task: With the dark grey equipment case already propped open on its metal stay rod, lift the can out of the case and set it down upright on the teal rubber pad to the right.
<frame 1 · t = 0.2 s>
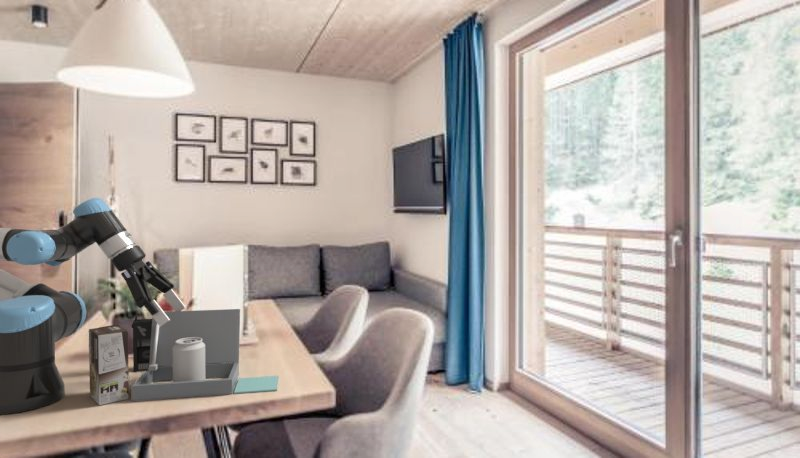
hand: (173, 316, 128), 16 cm above the table, tool tilted 35°, fingers open, 13 cm apart
can: (189, 387, 119), resting in case
geiger counter: (153, 368, 133), on the table
pad: (257, 385, 120), on the table
coffee box: (109, 397, 112), on the table
case: (189, 386, 119), on the table
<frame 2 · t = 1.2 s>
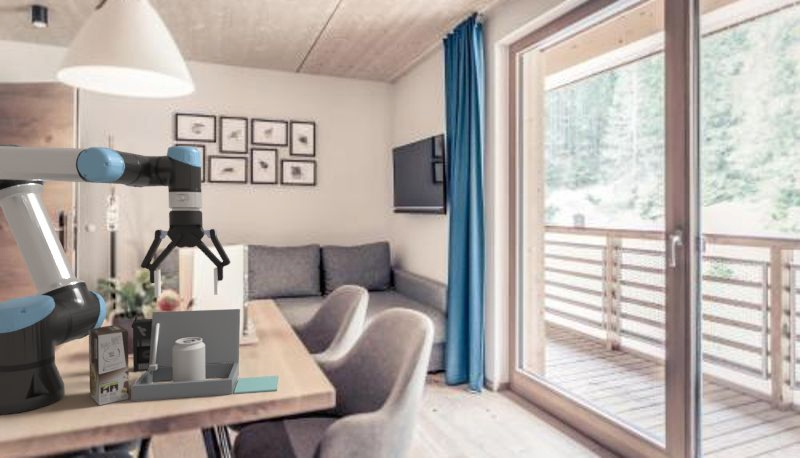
hand: (187, 295, 118), 23 cm above the table, tool pointing down, fingers open, 13 cm apart
nothing on the table moved.
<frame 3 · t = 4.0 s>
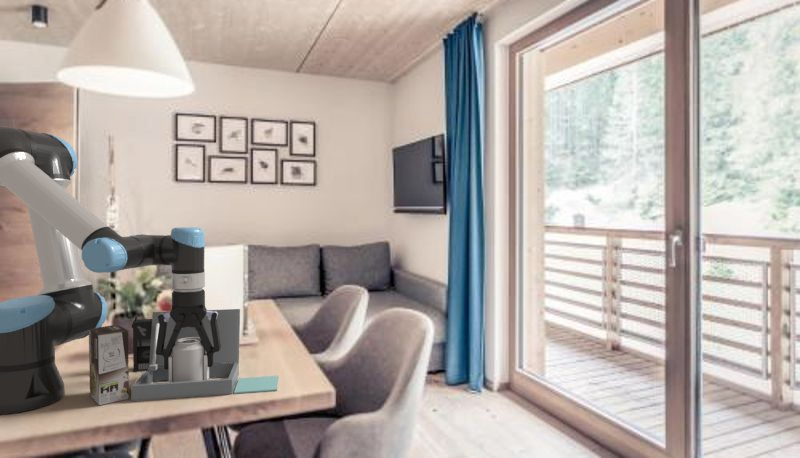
hand: (189, 380, 118), 2 cm above the table, tool pointing down, fingers closed on can, 7 cm apart
can: (189, 387, 119), resting in case, touching gripper
everything else where it was.
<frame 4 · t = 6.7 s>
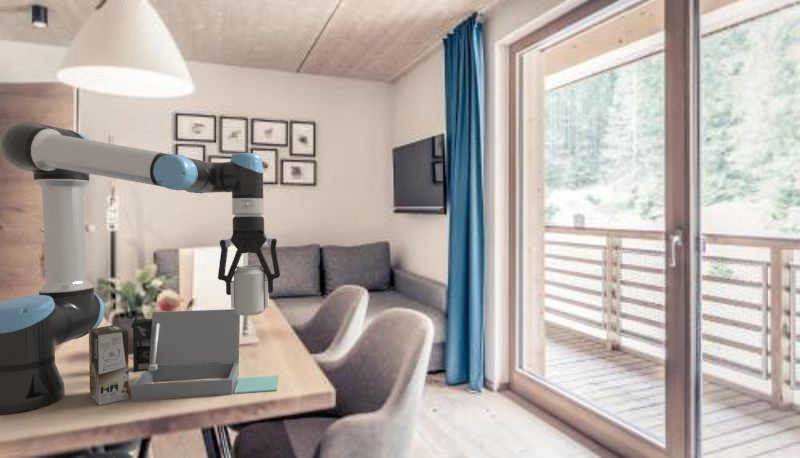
hand: (250, 306, 119), 20 cm above the table, tool pointing down, fingers closed on can, 7 cm apart
can: (250, 313, 119), point 18 cm above the table, touching gripper
everything else where it was.
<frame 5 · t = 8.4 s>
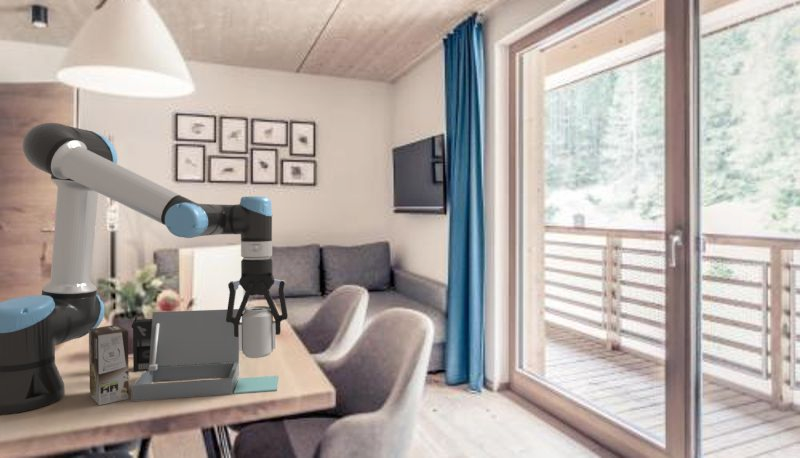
hand: (257, 348, 120), 9 cm above the table, tool pointing down, fingers closed on can, 7 cm apart
can: (257, 355, 120), point 8 cm above the table, touching gripper
everything else where it was.
when the fingers open (3 cm above the table, at t = 9.8 s): can drops 1 cm, resting on pad.
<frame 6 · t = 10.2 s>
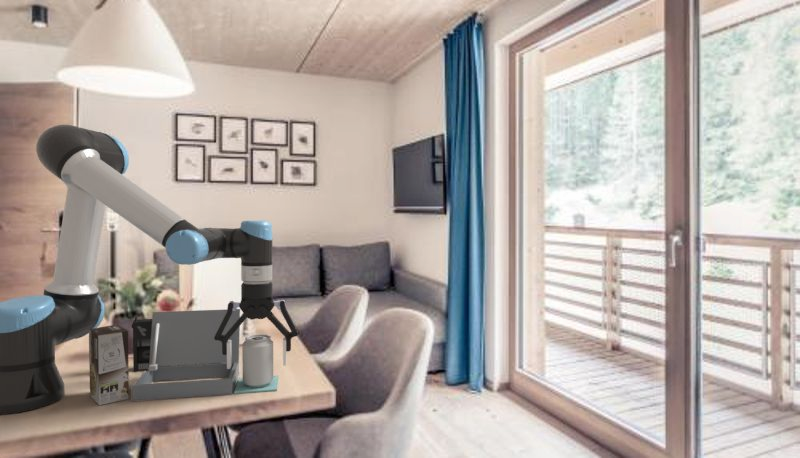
hand: (257, 365, 120), 5 cm above the table, tool pointing down, fingers open, 13 cm apart
can: (258, 384, 120), resting on pad
everything else where it was.
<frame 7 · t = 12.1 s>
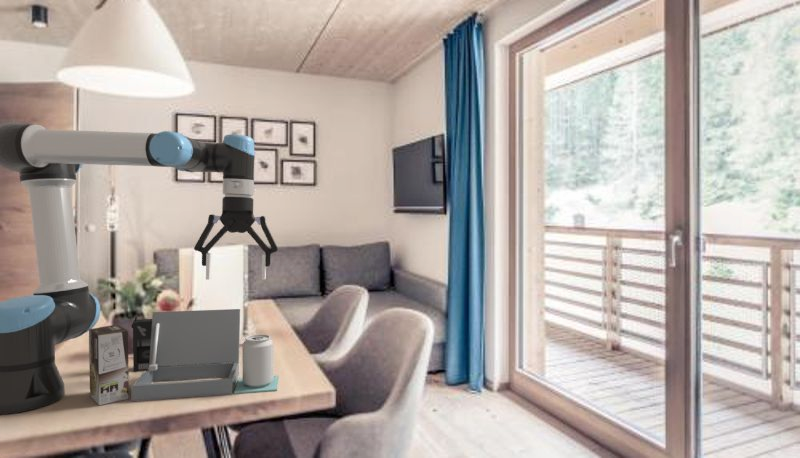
hand: (236, 279, 122), 27 cm above the table, tool pointing down, fingers open, 13 cm apart
nothing on the table moved.
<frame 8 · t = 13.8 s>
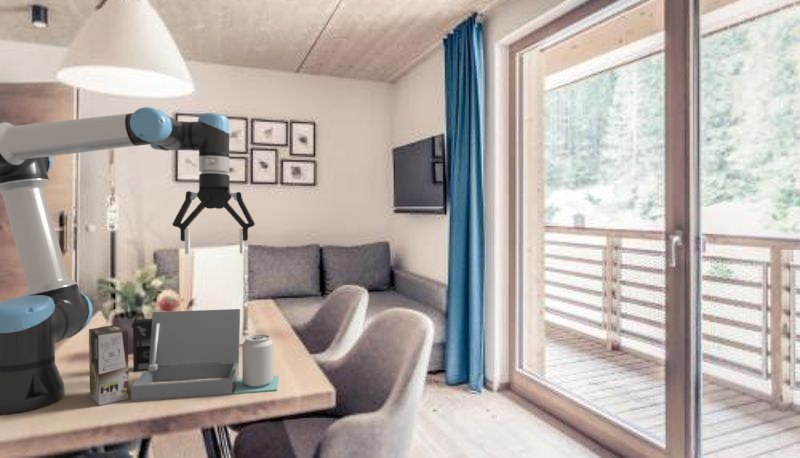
hand: (215, 253, 126), 33 cm above the table, tool pointing down, fingers open, 13 cm apart
nothing on the table moved.
at the end: can inside the target area (0.2 cm from its centre), resting on pad; can tilted 0°; the gripper is holding nothing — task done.
